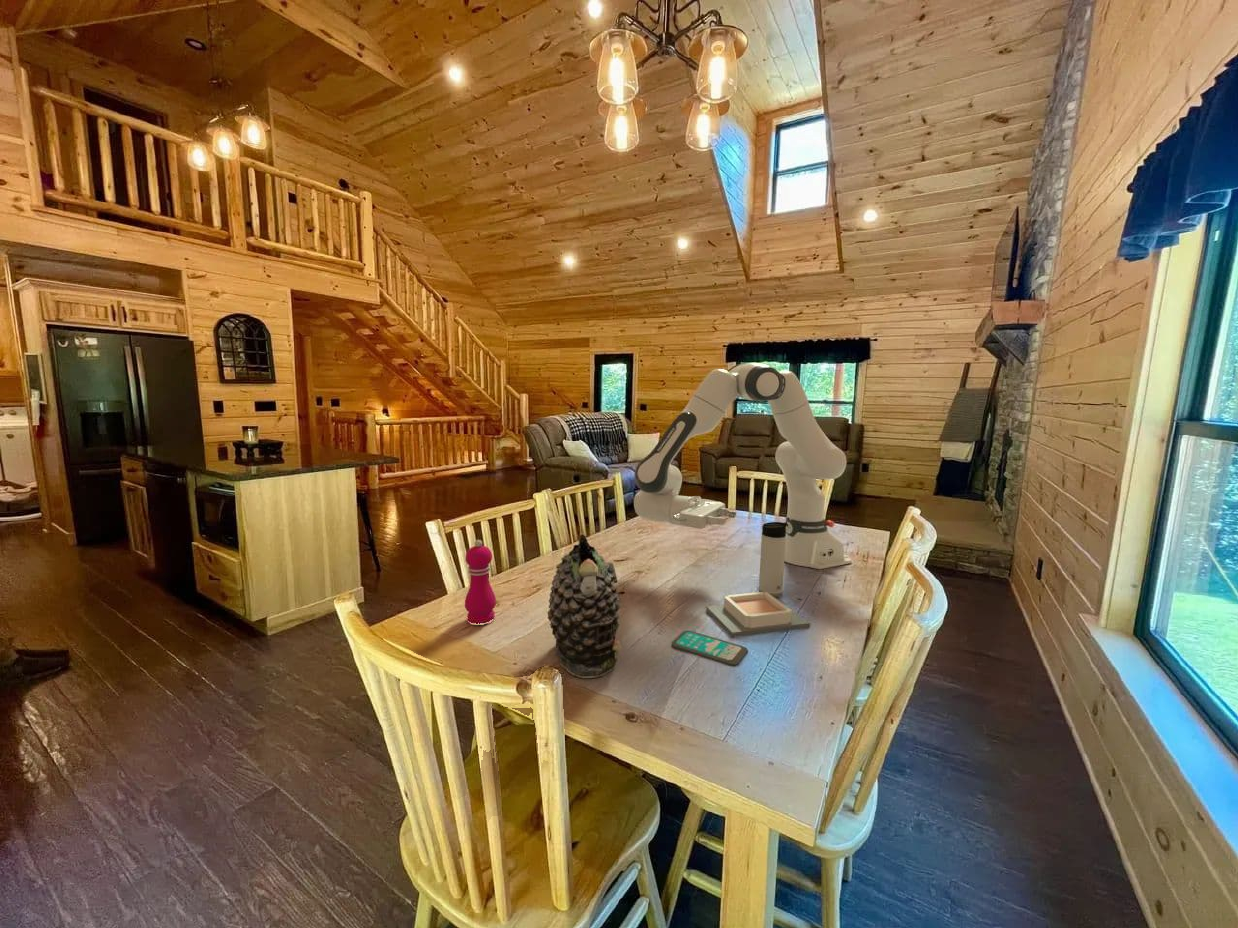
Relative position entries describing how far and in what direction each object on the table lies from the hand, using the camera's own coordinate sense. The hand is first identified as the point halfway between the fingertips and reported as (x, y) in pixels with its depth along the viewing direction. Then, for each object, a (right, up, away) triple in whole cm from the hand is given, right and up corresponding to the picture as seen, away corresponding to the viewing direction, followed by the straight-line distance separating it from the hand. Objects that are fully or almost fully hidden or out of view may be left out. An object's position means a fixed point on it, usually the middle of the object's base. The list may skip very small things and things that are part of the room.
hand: (730, 518), depth 139 cm
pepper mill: (-65, -23, -20) cm, 71 cm away
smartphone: (-12, -25, -32) cm, 43 cm away
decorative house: (-39, -25, -36) cm, 58 cm away
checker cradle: (+2, -23, -18) cm, 29 cm away
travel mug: (+11, -21, -3) cm, 23 cm away
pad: (+2, -21, -19) cm, 28 cm away
